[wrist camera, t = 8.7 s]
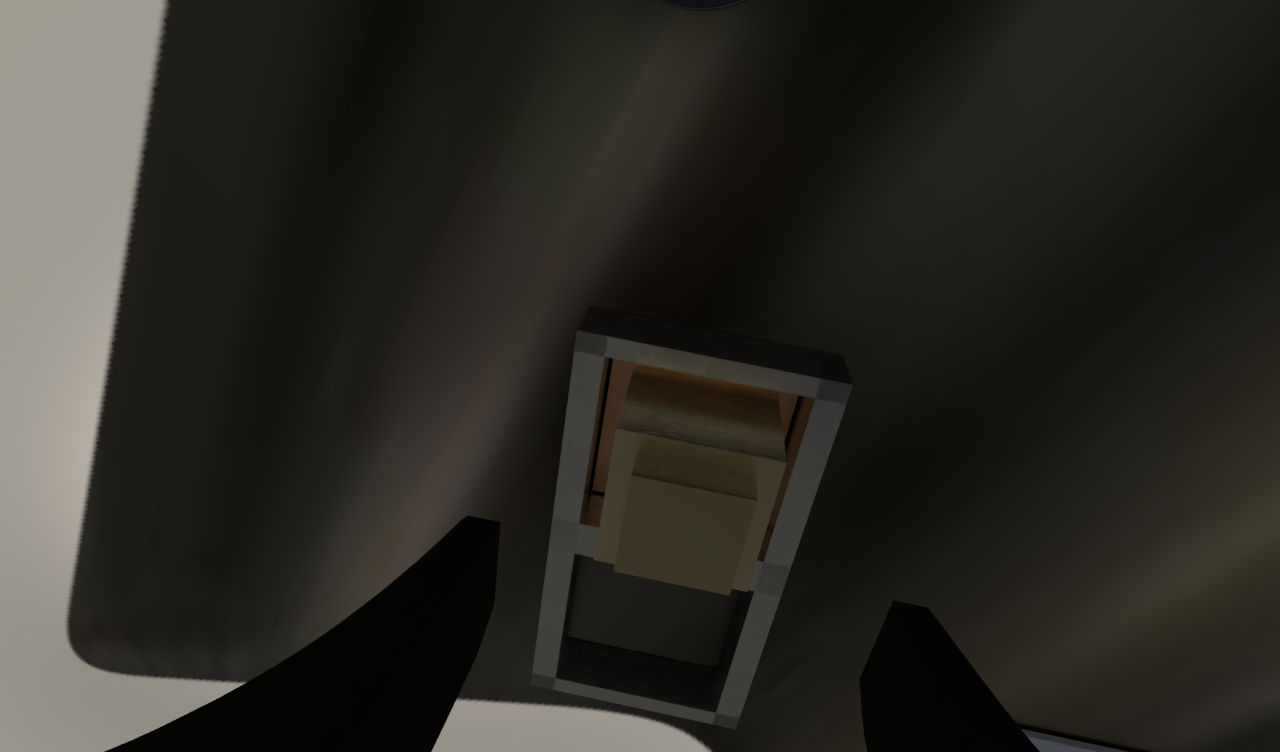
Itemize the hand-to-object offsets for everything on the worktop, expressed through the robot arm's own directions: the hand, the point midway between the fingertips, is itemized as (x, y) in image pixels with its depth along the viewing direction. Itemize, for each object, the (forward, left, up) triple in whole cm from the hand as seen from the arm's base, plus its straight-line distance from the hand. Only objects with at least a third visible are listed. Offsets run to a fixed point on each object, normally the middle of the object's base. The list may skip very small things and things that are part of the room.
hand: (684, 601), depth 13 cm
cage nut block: (-3, 0, -10) cm, 11 cm away
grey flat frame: (-6, 0, -11) cm, 12 cm away
